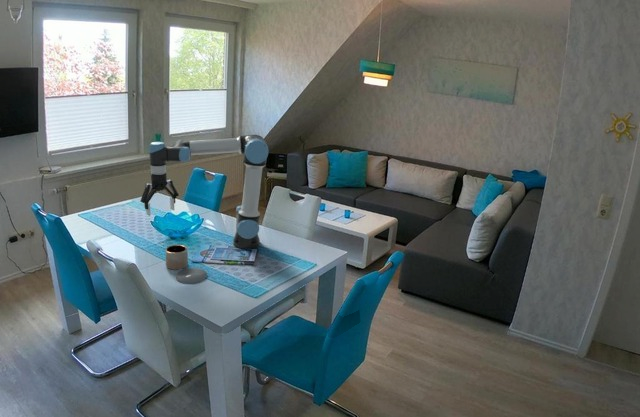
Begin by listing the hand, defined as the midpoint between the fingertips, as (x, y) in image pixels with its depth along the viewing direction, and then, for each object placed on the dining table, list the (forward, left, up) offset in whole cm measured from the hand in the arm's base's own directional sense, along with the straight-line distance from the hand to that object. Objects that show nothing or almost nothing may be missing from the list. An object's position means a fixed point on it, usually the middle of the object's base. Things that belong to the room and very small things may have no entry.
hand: (160, 212), depth 261 cm
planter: (-11, +12, -25) cm, 29 cm away
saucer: (-21, +23, -24) cm, 39 cm away
